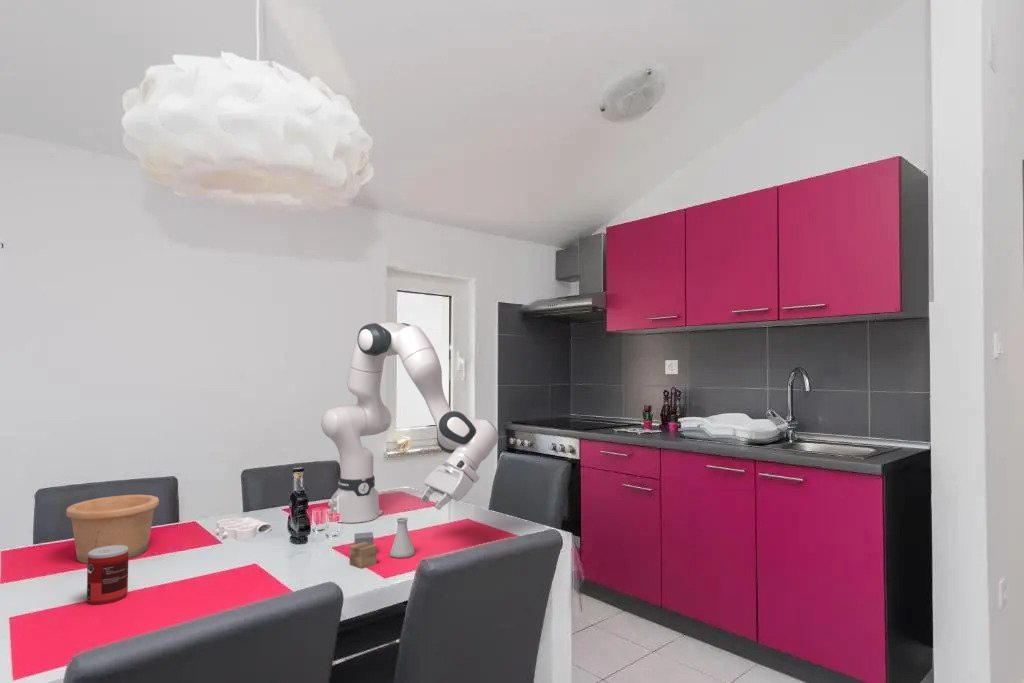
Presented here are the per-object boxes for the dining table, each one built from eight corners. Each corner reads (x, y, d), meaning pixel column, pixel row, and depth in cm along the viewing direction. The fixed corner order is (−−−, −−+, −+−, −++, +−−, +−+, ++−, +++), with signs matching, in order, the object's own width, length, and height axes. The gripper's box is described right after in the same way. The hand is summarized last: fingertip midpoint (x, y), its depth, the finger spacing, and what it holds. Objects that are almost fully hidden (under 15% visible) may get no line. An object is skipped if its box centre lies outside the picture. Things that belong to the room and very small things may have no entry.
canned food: (99, 592, 140) (100, 545, 141) (134, 591, 141) (135, 544, 141) (78, 605, 133) (79, 555, 133) (116, 604, 133) (117, 554, 134)
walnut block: (349, 565, 159) (349, 546, 159) (364, 560, 163) (364, 541, 163) (361, 569, 156) (361, 549, 156) (376, 564, 159) (376, 545, 160)
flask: (409, 559, 163) (409, 522, 163) (384, 557, 164) (385, 521, 165) (419, 551, 170) (419, 516, 170) (395, 549, 171) (395, 514, 172)
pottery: (175, 548, 174) (175, 498, 174) (95, 572, 154) (96, 516, 154) (128, 538, 183) (128, 491, 183) (47, 560, 163) (48, 508, 163)
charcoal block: (354, 551, 170) (354, 533, 170) (372, 549, 172) (372, 532, 172) (355, 556, 166) (355, 538, 166) (373, 554, 167) (373, 536, 167)
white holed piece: (276, 533, 189) (230, 544, 178) (249, 523, 201) (204, 533, 189) (276, 523, 189) (230, 533, 178) (249, 513, 201) (204, 522, 190)
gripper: (438, 455, 185) (408, 491, 180) (468, 465, 168) (437, 505, 162) (451, 468, 187) (422, 504, 182) (482, 479, 170) (451, 519, 164)
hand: (429, 504), depth 172 cm, fingers open, 8 cm apart
